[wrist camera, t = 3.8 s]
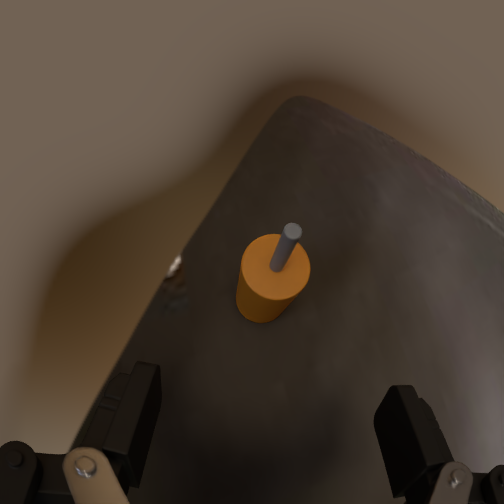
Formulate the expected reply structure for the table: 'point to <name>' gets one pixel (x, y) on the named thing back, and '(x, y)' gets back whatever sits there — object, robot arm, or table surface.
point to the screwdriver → (272, 274)
